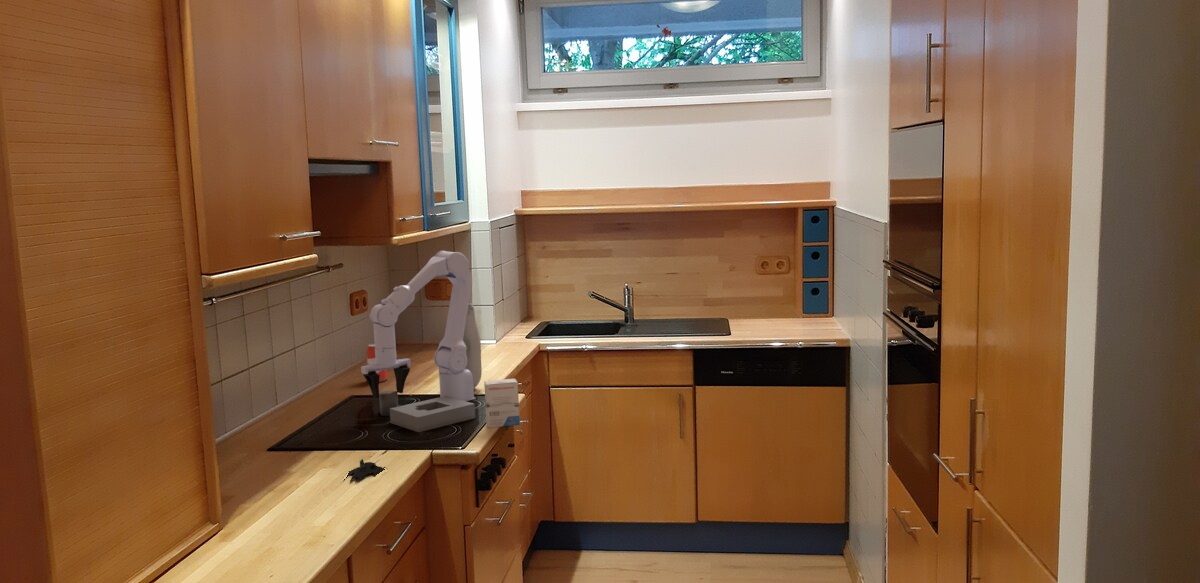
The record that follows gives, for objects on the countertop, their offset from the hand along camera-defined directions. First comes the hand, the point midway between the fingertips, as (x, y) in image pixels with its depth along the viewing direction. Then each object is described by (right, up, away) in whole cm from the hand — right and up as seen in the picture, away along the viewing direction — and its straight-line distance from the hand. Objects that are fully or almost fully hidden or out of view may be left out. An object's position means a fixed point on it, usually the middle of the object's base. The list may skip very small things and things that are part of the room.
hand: (388, 395), depth 257 cm
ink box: (+34, -6, -14) cm, 37 cm away
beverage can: (-13, 0, +44) cm, 46 cm away
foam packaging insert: (+14, -6, -8) cm, 17 cm away
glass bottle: (+18, -2, +27) cm, 32 cm away
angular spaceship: (+6, -13, -53) cm, 55 cm away
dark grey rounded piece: (0, -5, +1) cm, 5 cm away
